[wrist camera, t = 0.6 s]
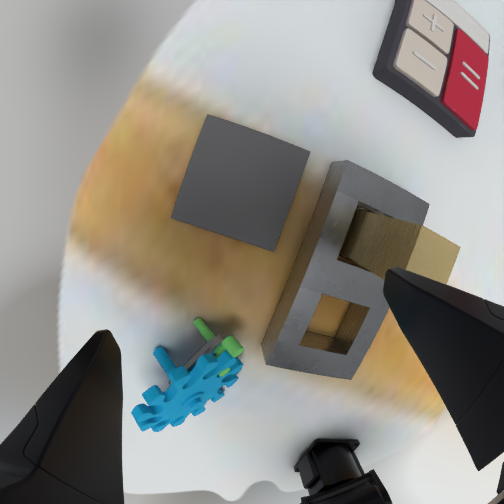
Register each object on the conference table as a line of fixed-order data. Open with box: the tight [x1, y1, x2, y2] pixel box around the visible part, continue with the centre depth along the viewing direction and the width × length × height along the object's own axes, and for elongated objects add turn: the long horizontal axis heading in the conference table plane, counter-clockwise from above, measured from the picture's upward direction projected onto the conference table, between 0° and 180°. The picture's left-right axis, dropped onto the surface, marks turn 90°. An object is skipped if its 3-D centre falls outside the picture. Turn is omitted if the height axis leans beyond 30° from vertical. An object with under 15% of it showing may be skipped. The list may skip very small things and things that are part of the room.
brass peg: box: [340, 209, 460, 284], centre depth 18 cm, size 3×3×10 cm
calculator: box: [373, 0, 490, 137], centre depth 18 cm, size 11×4×15 cm
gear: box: [131, 318, 244, 432], centre depth 22 cm, size 11×6×10 cm
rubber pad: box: [171, 114, 310, 252], centre depth 21 cm, size 8×8×1 cm
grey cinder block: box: [261, 160, 430, 380], centre depth 22 cm, size 8×16×3 cm, turn 160°
